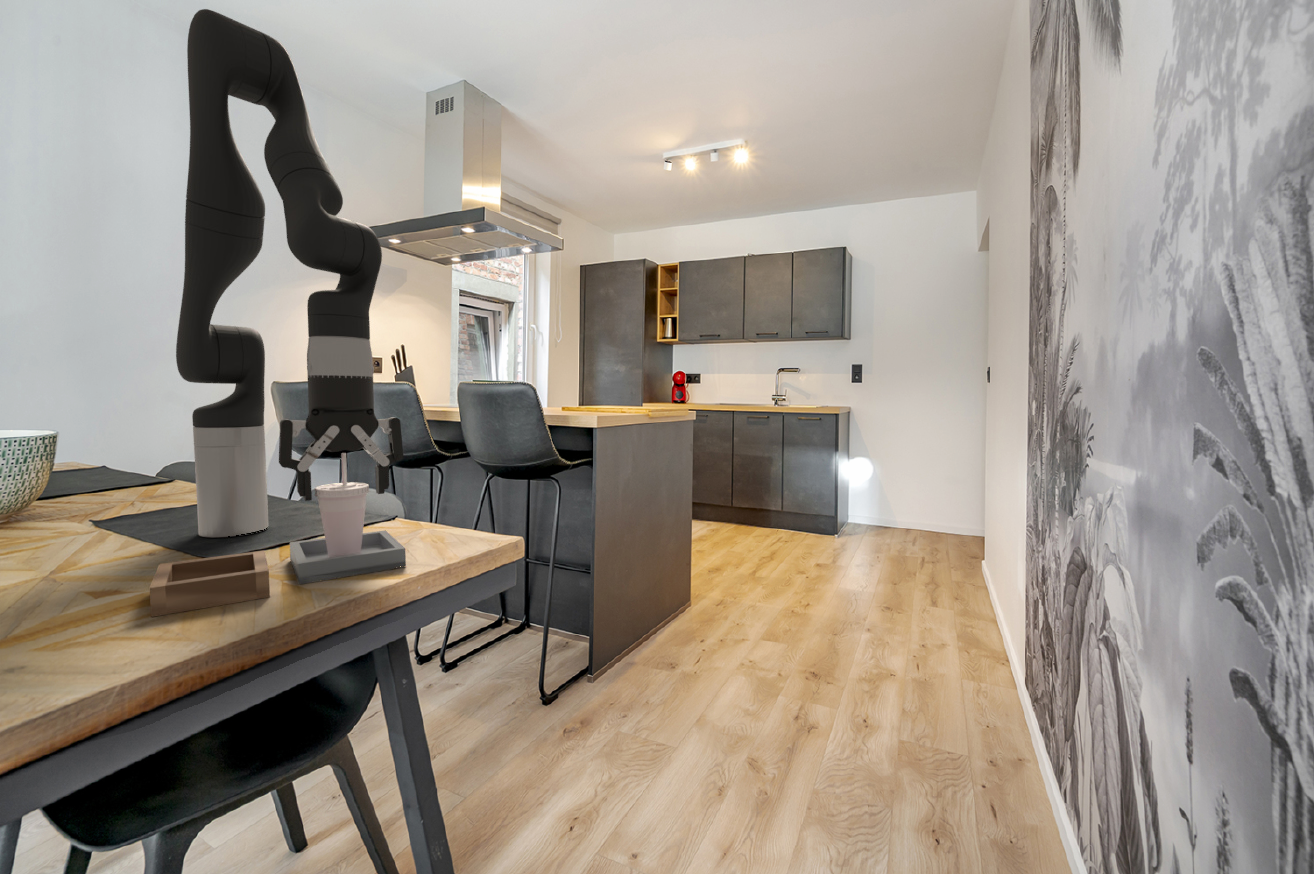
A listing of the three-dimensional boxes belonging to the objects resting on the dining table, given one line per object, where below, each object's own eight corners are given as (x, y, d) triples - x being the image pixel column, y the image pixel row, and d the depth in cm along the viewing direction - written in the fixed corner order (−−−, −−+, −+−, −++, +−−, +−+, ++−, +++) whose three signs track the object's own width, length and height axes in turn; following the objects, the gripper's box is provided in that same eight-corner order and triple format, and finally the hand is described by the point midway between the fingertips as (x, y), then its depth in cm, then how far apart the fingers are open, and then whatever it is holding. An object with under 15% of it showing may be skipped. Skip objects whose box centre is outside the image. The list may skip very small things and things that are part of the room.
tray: (290, 560, 78) (289, 542, 78) (385, 546, 85) (385, 530, 85) (298, 584, 68) (298, 563, 68) (405, 566, 75) (405, 548, 75)
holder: (160, 589, 66) (159, 563, 66) (265, 573, 72) (264, 550, 72) (151, 616, 58) (149, 588, 58) (269, 596, 64) (268, 570, 64)
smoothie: (381, 551, 79) (378, 451, 78) (352, 565, 73) (348, 457, 72) (337, 550, 80) (333, 450, 79) (305, 563, 74) (300, 456, 72)
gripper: (393, 375, 82) (396, 487, 83) (273, 373, 73) (278, 497, 75) (406, 374, 76) (408, 495, 77) (277, 371, 67) (283, 507, 69)
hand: (345, 496), depth 76 cm, fingers open, 8 cm apart
